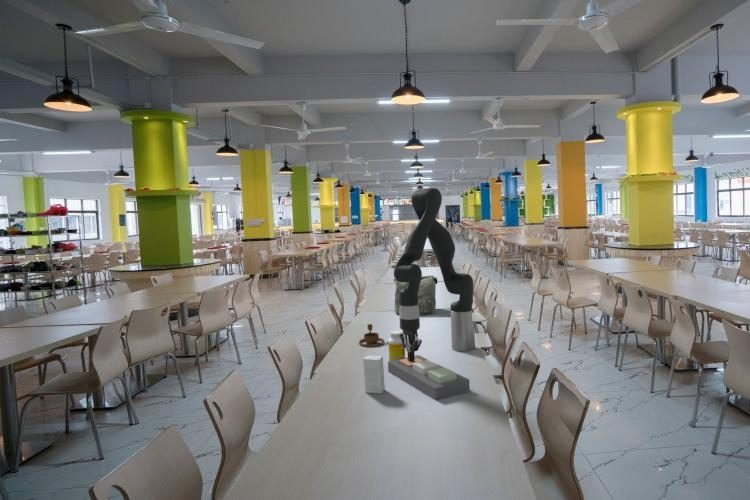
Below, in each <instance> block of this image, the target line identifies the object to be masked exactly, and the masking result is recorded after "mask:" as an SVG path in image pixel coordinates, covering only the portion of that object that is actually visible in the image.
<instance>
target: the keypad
mask: <svg viewBox="0 0 750 500" xmlns="http://www.w3.org/2000/svg"><path fill="white" fill-rule="evenodd" d="M415 357H416V358H418V359H420V360H422V361H425V360H429V359H428V358H426V357H424V356H422V355H419V354H417V355H415ZM407 358H408V357H405V358H403V359H407ZM399 360H402V359H399ZM399 360H394V361H389V360H388V362H387V368H388V369H387V371H388V373H389V374H392V375H393V376H394V377H396V378H398V379H399V380H402V382H404V383H406V384H408V385H409V386H411V387H413V388H414V389H416V390H418V391H419V392H421V393H422V394H424V395H426V396H427V397H430V398H431V399H432V400H434V401H438V400H442V399H446V398H449V397H451V396H452V397H453V396H456V395H459V394H460V395H461V394H463V393H467V392H470V391H471V388H470V379H469V378H468V377H465V376H463V375H461V374H459V373H457V372H455V373H456V380H454V381H450V382H446V383H442V384H438V383H436V382H434V381H432V380H430V379H428V374H427V375H421V374H419V373H417V372H416V371H414V370H413V366H412V367H406V366H405V365H403V364H401V363H399ZM438 365H439V368H443V367H444V366H442V365H440V364H438Z"/></svg>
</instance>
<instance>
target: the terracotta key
mask: <svg viewBox="0 0 750 500" xmlns="http://www.w3.org/2000/svg"><path fill="white" fill-rule="evenodd" d="M406 358H407V359H402V360H399V363H401V364H403V365H405V366H406V367H412V366H413V365H412V363H416V362H421V361H422V360H420V359H418V358H416V357H415V360H414V361H412V362H410V361H408V357H406Z"/></svg>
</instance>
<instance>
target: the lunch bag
mask: <svg viewBox="0 0 750 500" xmlns="http://www.w3.org/2000/svg"><path fill="white" fill-rule="evenodd" d="M393 283H394V284H395V290H394V291H395V292H394V312H395V314H397V315H399V309H400V300H399V292H400V290H402V289H405V288H408V286H409V283H406V282H398V281H397V280H396V279H395V278H393ZM437 285H438V277H437V276H434V275H431V274H430V275H422V277H421V282H420V286H419V291H418V306H419V315H426V314H427V315H430V314H434V313H435V312H436V310H437V308H436V307H437V300H436V299H437V298H436V296H437V295H436V290H437V289H436V286H437Z"/></svg>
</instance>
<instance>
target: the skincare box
mask: <svg viewBox="0 0 750 500" xmlns="http://www.w3.org/2000/svg"><path fill="white" fill-rule="evenodd" d="M383 357H384V356H382V355H366V356H365V357H364V358H363V359H362V360H363V376H364V377H363V378H364V391H365V393H367V394H369V393H370V394H382V393H383V392H384V391H385V389H386V387H385V385H386V384H385V370H384V358H383Z"/></svg>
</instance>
